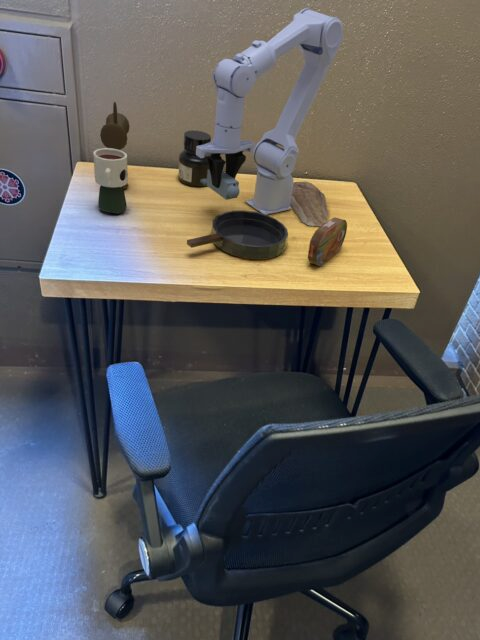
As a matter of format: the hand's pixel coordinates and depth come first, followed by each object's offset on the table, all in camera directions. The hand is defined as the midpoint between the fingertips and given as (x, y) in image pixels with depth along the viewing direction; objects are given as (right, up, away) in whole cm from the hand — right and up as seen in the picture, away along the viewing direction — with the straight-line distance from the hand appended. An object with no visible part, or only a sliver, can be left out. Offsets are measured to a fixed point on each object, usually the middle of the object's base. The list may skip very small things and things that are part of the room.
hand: (222, 185), depth 122 cm
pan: (+6, -13, -1) cm, 15 cm away
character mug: (-26, -6, +1) cm, 26 cm away
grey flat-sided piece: (0, -1, +1) cm, 2 cm away
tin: (+23, -17, 0) cm, 29 cm away
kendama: (-27, +3, +10) cm, 29 cm away
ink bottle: (-9, +8, +21) cm, 24 cm away
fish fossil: (+21, +2, +21) cm, 29 cm away
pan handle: (-3, -15, -9) cm, 18 cm away
